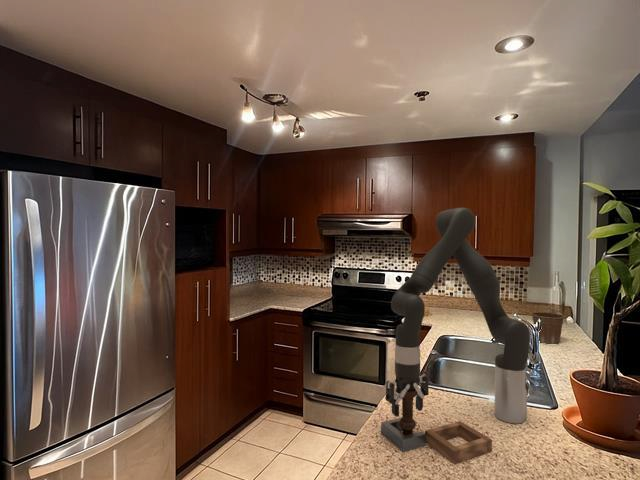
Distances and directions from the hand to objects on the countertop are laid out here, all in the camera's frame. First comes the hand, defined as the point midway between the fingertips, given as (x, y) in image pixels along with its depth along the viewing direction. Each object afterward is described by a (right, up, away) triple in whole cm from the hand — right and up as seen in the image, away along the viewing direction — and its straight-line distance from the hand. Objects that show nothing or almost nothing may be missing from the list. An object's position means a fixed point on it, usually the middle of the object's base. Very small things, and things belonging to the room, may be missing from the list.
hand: (407, 412), depth 118 cm
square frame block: (+14, -8, -4) cm, 16 cm away
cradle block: (-2, -8, 0) cm, 8 cm away
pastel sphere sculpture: (+44, -5, +173) cm, 179 cm away
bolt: (0, -8, 0) cm, 8 cm away
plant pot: (+102, -6, +102) cm, 144 cm away
